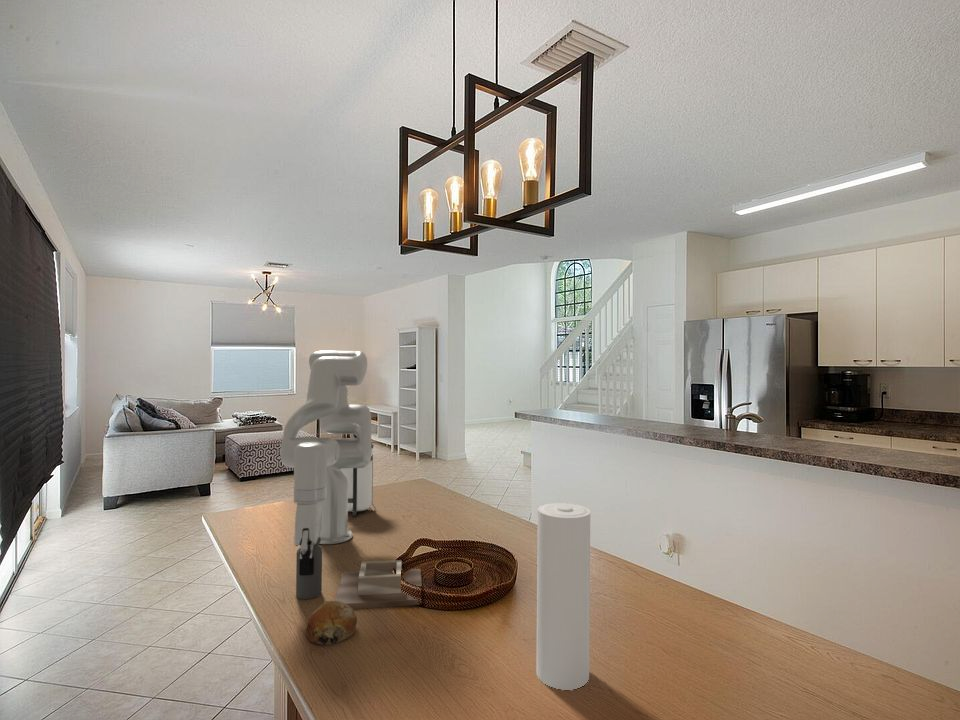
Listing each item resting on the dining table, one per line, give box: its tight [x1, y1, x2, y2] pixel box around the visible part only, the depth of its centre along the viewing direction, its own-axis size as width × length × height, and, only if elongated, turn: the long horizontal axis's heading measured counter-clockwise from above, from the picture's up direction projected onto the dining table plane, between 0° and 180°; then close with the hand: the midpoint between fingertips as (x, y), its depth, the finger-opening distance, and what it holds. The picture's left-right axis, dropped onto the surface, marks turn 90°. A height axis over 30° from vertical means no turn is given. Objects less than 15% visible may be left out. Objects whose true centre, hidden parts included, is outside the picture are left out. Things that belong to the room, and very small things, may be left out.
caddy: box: [334, 559, 423, 610], centre depth 126 cm, size 18×20×5 cm
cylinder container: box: [535, 502, 591, 691], centre depth 92 cm, size 9×9×30 cm
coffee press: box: [340, 434, 376, 518], centre depth 191 cm, size 17×16×30 cm
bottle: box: [295, 531, 323, 600], centre depth 124 cm, size 6×6×15 cm
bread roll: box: [306, 600, 358, 646], centre depth 106 cm, size 10×10×8 cm
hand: (309, 568), depth 123 cm, fingers closed on bottle, 5 cm apart
